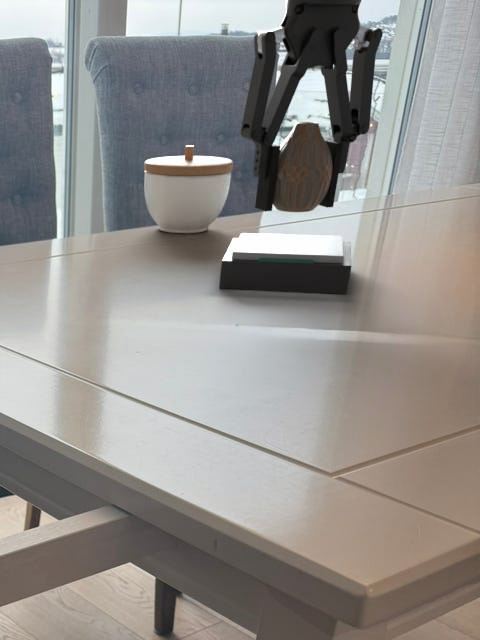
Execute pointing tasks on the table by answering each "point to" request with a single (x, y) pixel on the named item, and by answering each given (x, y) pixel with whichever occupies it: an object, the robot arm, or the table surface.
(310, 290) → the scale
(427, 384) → the table surface
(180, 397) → the table surface
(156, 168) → the lidded bowl
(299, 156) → the vase
